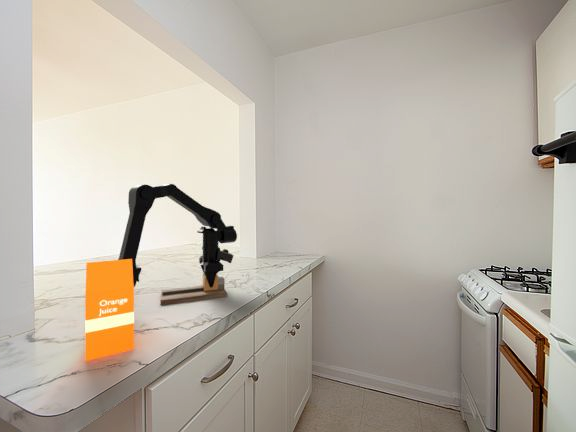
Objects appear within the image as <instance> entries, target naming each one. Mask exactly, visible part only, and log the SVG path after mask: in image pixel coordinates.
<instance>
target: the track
mask: <svg viewBox="0 0 576 432" xmlns="http://www.w3.org/2000/svg"><path fill="white" fill-rule="evenodd" d="M225 281H226V280H225V277H224V276H218V290H209V291H204V287H203V285H199V286H198V285H195V286H189V287H180V288H171V289H161V290H160V305H161V306H163V305H169V304H177V303H178V304H180V303H187V302H194V301H201V300H202V301H203V300H208V299H209V300H210V299H216V298H224V297H225V298H226V297H228V292H227V291H226V289H225Z"/></svg>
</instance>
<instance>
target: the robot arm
mask: <svg viewBox="0 0 576 432" xmlns="http://www.w3.org/2000/svg"><path fill="white" fill-rule="evenodd" d="M165 197H167V198H169V199H170V200H172V201H173V202H174V203H176V204H178V205H179V206H180V207H182V208H183V209H185V210H186V211H188V212H189V213H191V214H192V215H193V216H194V217H195V218H196V220H197V221H198V222H199V223H200V224H201V225H202V226H201V227H200V228H199V229H198V230H197V232H196V233H198V234H202V247H201V250H202V255H201V256H200V257H199V258H198V263H199V264H200V268H201V271H202V274H205V276H206V278H207V281H208V284H209V286H210V287H213V285H214V281H215V277H216V274H217V275H218V273H220V272H223V271H224V264H222V262H221V261H224V262H227V263H229V264H231V263H232V262H233V260H234V254H233V253H230V252H229V249H225V248H223V250H221V247H219V243H220V244H230V243H235V242H237V238H238V233H237V231H236V229H235V225H226V224H225V223H224V221H223V219H222V215H221V214H220V212H218V211H216V210H214V209H212V208H208V207H207V206H205V205H202V204H201V203H199V202H198V201H196V200H195V199H194V198H192V196H190V195H188V194H187V193H186V192H184V191H183V190H181V189H180V188H178V186H177V185H176V184H174V183H168V184H163V185H158V186H151V185H149V184H141V185H140V184H139V185H135V186H133V187H131V188H130V189H129V192H128V202H127V204H128V209H129V214H128V218H127V223H126V226H125V227H126V228H125V232H124V234H123V240H122V245H121V248H120V252H119V256H118V259H117V260H124V259H132V267H133V285H134V288H135V287H136V285H137V282H138V283H139V282H140V274H141V272H142V267H140V266H137V263H136V262H137V256H138V252H139V247H140V243H141V238H142V234H143V230H144V225H145V221H146V216H147V215H148V213H149V212H150V210H151V209H152V207H153V205H154V203H155V200H156V199H161V198H165ZM207 227H209V228H207ZM215 229H216V230H215Z"/></svg>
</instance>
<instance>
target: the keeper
mask: <svg viewBox="0 0 576 432" xmlns="http://www.w3.org/2000/svg"><path fill="white" fill-rule="evenodd" d="M218 277H219V275H218V273H217V274H216V277H215V281H214V285H213V287H210V286H209V284H208V281H207V278H206V276H205V274H204V273H202V286H203V287H204V291H209V290H218Z"/></svg>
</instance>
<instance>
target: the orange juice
mask: <svg viewBox="0 0 576 432" xmlns="http://www.w3.org/2000/svg"><path fill="white" fill-rule="evenodd" d="M85 268H86V270H85V271H86V273H85V291H84V292H85V293H84V294H85V295H84V296H85V301H84V302H85V304H84V305H85V306H84V308H85V309H84V310H85V313H84V314H85V318H84V319H85V320H84V326H85V327H84V329H85V330H84V333H85V362H89V361H92V360H96V359H100V358H104V357H108V356H112V355H116V354H120V353H124V352H127V351H132V350H135V304H134V303H135V287H134V285H133V267H132V259H124V260H118V259H115V260H102V261H101V260H100V261H89V262H86V267H85Z"/></svg>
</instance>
